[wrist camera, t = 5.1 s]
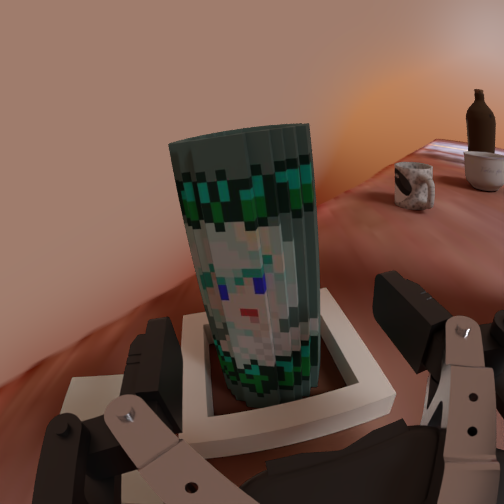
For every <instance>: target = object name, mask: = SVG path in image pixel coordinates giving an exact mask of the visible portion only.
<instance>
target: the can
mask: <svg viewBox="0 0 504 504" xmlns="http://www.w3.org/2000/svg"><path fill="white" fill-rule="evenodd" d="M168 145H169V151H170V156H171V162H172V167H173V172H174V177H175V182H176V187H177V192H178V197H179V202H180V206H181V211H182V216H183V220H184V224H185V229H186V234H187V238H188V242H189V247H190V251H191V255H192V259H193V264H194V268H195V272H196V276H197V280H198V284H199V288H200V292H201V296H202V299H203V303H204V307H205V311H206V315H207V318H208V322H209V326H210V329H211V333H212V336H213V340H214V343H215V347H216V350H217V354H218V357H219V361H220V364H221V367H222V371H223V374H224V377H225V381H226V384H227V387H228V389H231V392H232V394H233V395H235V397H236V400H240V401H246V404H247V407H255V408H265V407H270V406H275V405H279V404H284V403H288V402H292V401H297V400H301V399H302V398H303V396H307V397H309V396H310V389H311V387H317V385H318V377H319V369H320V270H319V244H318V225H317V208H316V194H315V180H314V168H313V157H312V149H311V137H310V128H309V123H307V124H302V123H300V124H281V125H269V126H259V127H251V128H243V129H237V130H230V131H223V132H218V133H212V134H207V135H202V136H197V137H192V138H188V139H184V140H180V141H176V142H173V143H170V144H168Z"/></svg>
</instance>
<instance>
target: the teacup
mask: <svg viewBox="0 0 504 504" xmlns="http://www.w3.org/2000/svg"><path fill="white" fill-rule="evenodd" d="M464 160H465V176H466V179H467V180H468V182H469V183H470V184H471V185H472V186H473V187H474V188H476V189H480V190H485V191H497V190H498V189H499V188H500V187H502V186H503V185H504V156H503V155H499V154H494V153H487V152H474V151H467V152H464Z"/></svg>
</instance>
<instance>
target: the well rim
mask: <svg viewBox="0 0 504 504" xmlns="http://www.w3.org/2000/svg"><path fill="white" fill-rule="evenodd" d="M320 335H321V337H322V338H323V340H324V342H325V344H326V346H327V348H328V350H329V352H330V354H331V356H332V358H333V360H334V362H335V364H336V366H337V368H338V369H339V371H340V373H341V375H342V377H343V379H344V381H345V383H346V385H347V387H344V388H340V389H337V390H334V391H330V392H327V393H323V394H320V395H316V396H312V397H308V398H305V399H301V400H297V401H292V402H288V403H284V404H279V405H275V406H270V407H265V408H260V409H255V410H250V411H244V412H239V413H233V414H226V415H220V416H214V409H213V397H212V384H211V369H210V354H209V344H213V343H214V340H213V336H212V333H211V329H210V326H209V322H208V318H207V315H206V312H201V313H195V314H189V315H183V324H182V341H181V351H182V356H183V401H182V428H183V433H179V439H183V440H184V441H186V442H187V443H188V444H189V445H190V446H191V447H192V448H193V449H194V450H195V451H196V452H198V453H199V454H200V455H201V456H202V457H203V458H204V459H208V458H217V457H225V456H232V455H239V454H245V453H251V452H257V451H262V450H267V449H272V448H277V447H282V446H286V445H290V444H295V443H299V442H303V441H307V440H310V439H314V438H318V437H321V436H325V435H328V434H332V433H335V432H338V431H341V430H344V429H347V428H350V427H353V426H356V425H359V424H362V423H365V422H368V421H370V420H373V419H376V418H378V417H381V416H384V415H386V414H389V413H390V410H391V408H392V405H393V402H394V399H395V396H396V392H395V390H394V389H393V387H392V386H391V384H390V382H389V381H388V379H387V378H386V376H385V375H384V373H383V372H382V370H381V368H380V367H379V365H378V364H377V362H376V361H375V359H374V358H373V356H372V355H371V353H370V352H369V350H368V348H367V347H366V345H365V344H364V342H363V341H362V339H361V338H360V336H359V335H358V333H357V332H356V330H355V329H354V327H353V326H352V324H351V323H350V321H349V320H348V318H347V317H346V316H345V314H344V313H343V311H342V310H341V308H340V307H339V305H338V304H337V302H336V301H335V299H334V298H333V297H332V295H331V294H330V292H329V291H328V289H327V288H322V289H320Z"/></svg>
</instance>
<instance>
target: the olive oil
mask: <svg viewBox="0 0 504 504" xmlns="http://www.w3.org/2000/svg"><path fill="white" fill-rule="evenodd" d="M474 91H475V101H474V103H473V104H472V105H471V106H470V107H469V109H468V110H467V114H466V123H467V136H468V151H474V152H487V153H495V127H496V123H495V117H494V114H493V112H492V111H491V110H490V108H489V107H488V106H487V105H486V103H485V102H484V94H483V90H479V89H475V90H474Z"/></svg>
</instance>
